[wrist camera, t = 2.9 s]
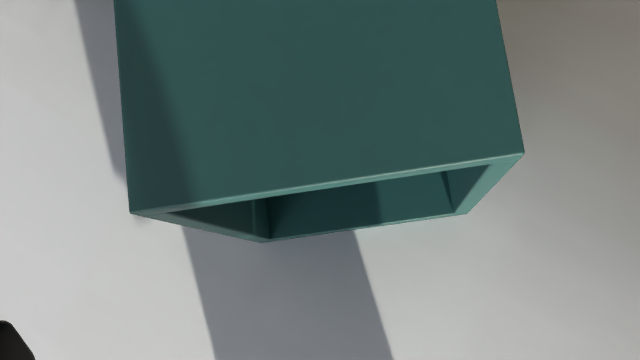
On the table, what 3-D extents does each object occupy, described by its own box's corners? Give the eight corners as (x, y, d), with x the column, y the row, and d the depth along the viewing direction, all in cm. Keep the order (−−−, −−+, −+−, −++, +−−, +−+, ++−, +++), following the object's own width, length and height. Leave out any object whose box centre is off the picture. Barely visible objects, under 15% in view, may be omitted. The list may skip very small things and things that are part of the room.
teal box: (467, 213, 20) (526, 154, 10) (259, 243, 21) (128, 214, 11) (424, -39, 21) (438, -301, 12) (232, -3, 22) (95, -219, 13)
